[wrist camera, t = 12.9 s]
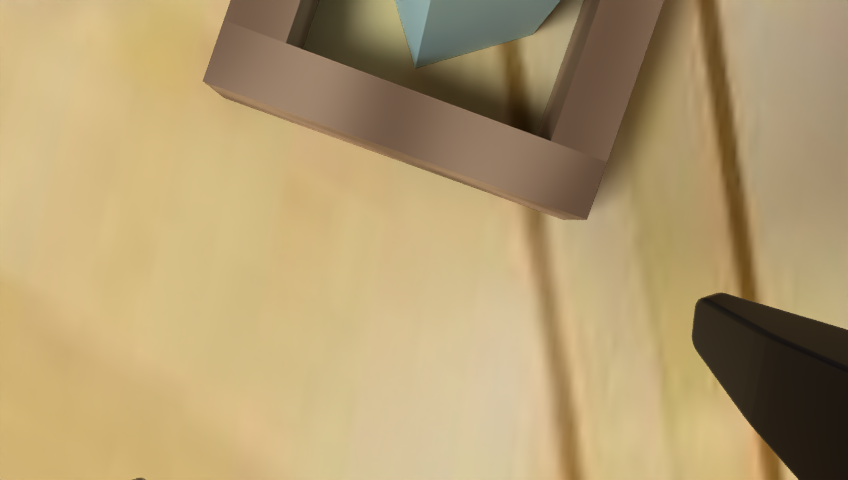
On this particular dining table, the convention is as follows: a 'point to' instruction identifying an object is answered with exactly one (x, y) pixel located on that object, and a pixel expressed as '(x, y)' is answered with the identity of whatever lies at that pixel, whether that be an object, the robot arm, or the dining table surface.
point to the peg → (466, 25)
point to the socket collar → (442, 122)
